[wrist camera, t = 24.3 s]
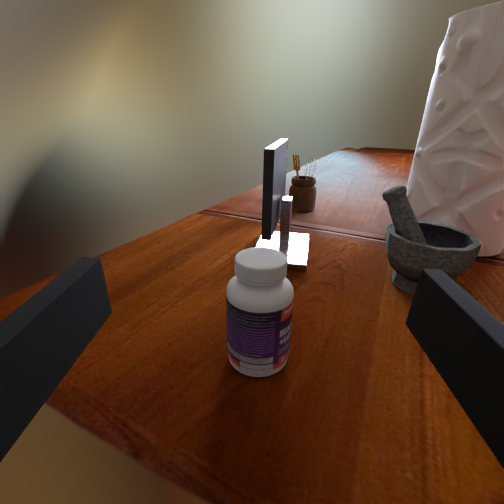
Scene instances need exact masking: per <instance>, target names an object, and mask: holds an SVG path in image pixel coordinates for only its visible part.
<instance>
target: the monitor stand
mask: <svg viewBox="0 0 504 504" xmlns="http://www.w3.org/2000/svg"><path fill="white" fill-rule="evenodd" d="M292 200H293V197H291V196H283V198H282V200H281V218H280V232H278V231H274V233H273V235H272V238H271V240H263V239H261V238H262V234H261V236H260V238H259V240H258V243H257V245H256V247H265V248H271V249H276V250H278V251H280V252H282V253H284V254H285V255H286V257H287V270H295V271H304V272H306V268H307V257H308V246H309V234H301V233H290V228H291V214H292Z"/></svg>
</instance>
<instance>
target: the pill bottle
mask: <svg viewBox="0 0 504 504" xmlns="http://www.w3.org/2000/svg"><path fill="white" fill-rule="evenodd" d="M286 274H287V257H286V255H285V254H284V253H282V252H280V251H278V250H276V249H271V248H265V247H254V248H248V249H244V250H242V251H240V252H238V253H237V254H236V256H235V276H234V277H233V278H232V279H231V280H230V281H229V283H228V285H227V290H226V305H227V350H228V358H229V361H230V363H231V365H232V366H233V367H234V368H235V369H236V370H237V371H239V372H240V373H242V374H244V375H247V376H251V377H266V376H270V375H273V374H275V373H277V372H279V371H280V370H281V369H282V368H283V367H284V366H285V364H286V362H287V359H288V354H289V344H290V333H291V321H292V310H293V300H294V291H293V287H292V284H291V283H290V281H289V280H288V279H287V278H286Z"/></svg>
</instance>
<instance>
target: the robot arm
mask: <svg viewBox="0 0 504 504" xmlns="http://www.w3.org/2000/svg"><path fill="white" fill-rule="evenodd" d="M111 313H112V311H111V306H110V302H109V297H108V292H107V287H106V283H105V278H104V273H103V269H102V264H101V259H100V257H81V258H80V259H78V260H77V261H76V262H75V263H73V264H72V265H71V266H70V267H69V268H67V269H66V270H65V271H63V272H62V273H61V274H60V275H59V276H57V277H56V278H55V279H54V280H52V281H51V282H50V283H49V284H47V285H46V286H45V287H44V288H42V289H41V290H40V291H39V292H38V293H36V294H35V295H34V296H33V297H31V298H30V299H29V300H28V301H26V302H25V303H24V304H23V305H22V306H20V307H19V308H18V309H17V310H15V311H14V312H13V313H12V314H10V315H9V316H8V317H7V318H5V319H4V320H3V321H2V322H1V323H0V462H1V461H2V459H3V458H4V457H5V455H6V454H7V452H8V451H9V450H10V448H11V447H12V446H13V444H14V443H15V442H16V440H17V439H18V438H19V436H20V435H21V434H22V432H23V431H24V429H25V428H26V427H27V426H28V424H29V423H30V422H31V420H32V419H33V418H34V416H35V415H36V414H37V412H38V411H39V409H40V408H41V407H42V406H43V404H44V403H45V401H46V400H47V399H48V397H49V396H50V395H51V393H52V392H53V391H54V389H55V388H56V387H57V385H58V384H59V383H60V381H61V380H62V379H63V377H64V376H65V375H66V373H67V372H68V371H69V369H70V368H71V367H72V365H73V364H74V362H75V361H76V360H77V358H78V357H79V356H80V354H81V353H82V352H83V350H84V349H85V348H86V346H87V345H88V344H89V342H90V341H91V340H92V338H93V337H94V336H95V334H96V333H97V332H98V330H99V329H100V328H101V326H102V325H103V324H104V322H105V321H106V319H107V318H108V317H109V315H110V314H111ZM406 325H407V327H408V328H409V330H410V331H411V333H412V334H413V336H414V337H415V339H416V340H417V341H418V343H419V344H420V346H421V347H422V349H423V350H424V352H425V353H426V355H427V356H428V358H429V359H430V361H431V362H432V364H433V365H434V367H435V368H436V370H437V371H438V372H439V374H440V375H441V377H442V378H443V380H444V381H445V383H446V384H447V386H448V387H449V389H450V390H451V392H452V393H453V395H454V396H455V398H456V399H457V401H458V402H459V403H460V405H461V406H462V408H463V409H464V411H465V412H466V414H467V415H468V417H469V418H470V420H471V421H472V423H473V424H474V426H475V427H476V429H477V430H478V432H479V433H480V434H481V436H482V437H483V439H484V440H485V442H486V443H487V445H488V446H489V448H490V449H491V451H492V452H493V454H494V455H495V457H496V458H497V460H498V461H499V463H500V464H501V465H502V467H503V468H504V325H503V324H502V323H501V322H500V321H499V320H498V319H497V318H495V317H494V316H493V315H492V314H491V313H490V312H489V311H487V310H486V309H485V308H484V307H483V306H482V305H481V304H480V303H478V302H477V301H476V300H475V299H474V298H473V297H472V296H470V295H469V294H468V293H467V292H466V291H465V290H464V289H463V288H461V287H460V286H459V285H458V284H457V283H456V282H455V281H453V280H452V279H451V278H450V277H449V276H448V275H447V274H446V273H444V272H443V271H442V270H435V269H422V271H421V274H420V278H419V281H418V284H417V288H416V291H415V294H414V297H413V301H412V304H411V307H410V311H409V314H408V317H407V321H406Z"/></svg>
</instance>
